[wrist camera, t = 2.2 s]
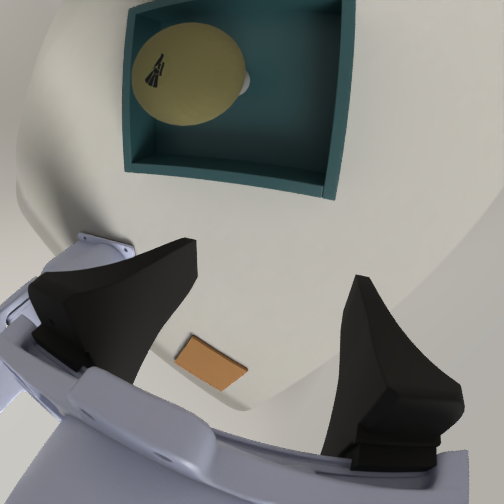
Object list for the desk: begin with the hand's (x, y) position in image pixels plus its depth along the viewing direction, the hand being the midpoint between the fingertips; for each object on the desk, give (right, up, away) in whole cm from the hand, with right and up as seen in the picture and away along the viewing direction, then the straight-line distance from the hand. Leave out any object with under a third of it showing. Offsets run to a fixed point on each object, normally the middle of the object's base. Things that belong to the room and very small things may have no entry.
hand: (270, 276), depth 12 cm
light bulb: (-2, +13, +5) cm, 14 cm away
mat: (-6, -14, +23) cm, 27 cm away
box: (-2, +13, +5) cm, 14 cm away
